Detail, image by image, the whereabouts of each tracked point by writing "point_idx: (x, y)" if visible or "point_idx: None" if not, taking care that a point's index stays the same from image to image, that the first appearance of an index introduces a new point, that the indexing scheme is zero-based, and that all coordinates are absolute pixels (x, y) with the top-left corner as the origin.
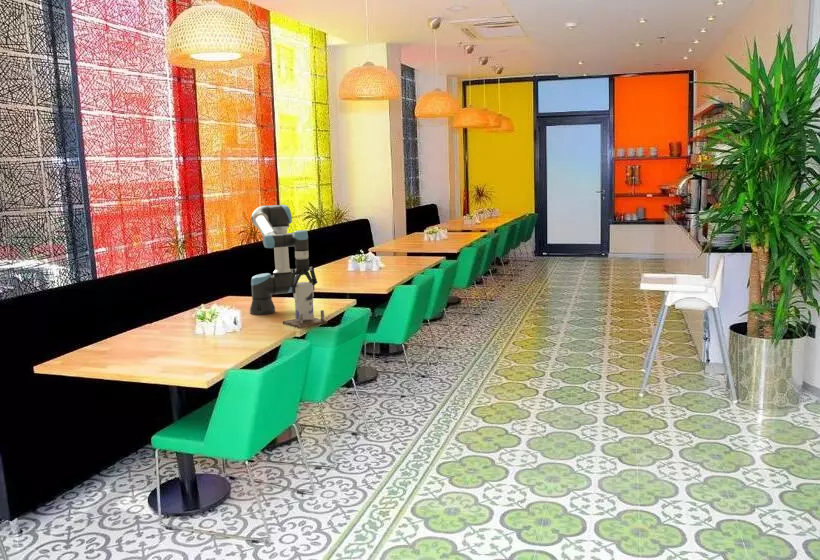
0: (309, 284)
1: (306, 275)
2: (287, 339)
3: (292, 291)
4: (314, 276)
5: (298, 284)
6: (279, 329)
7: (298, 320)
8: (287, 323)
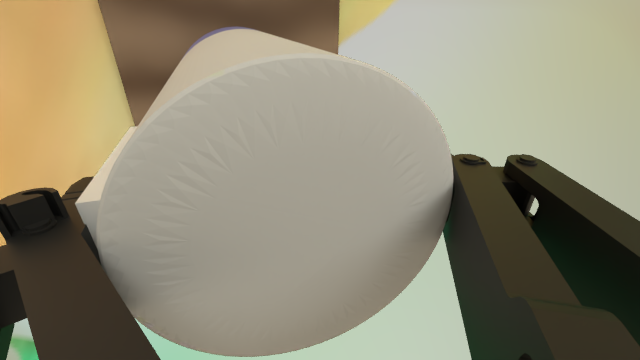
0: (331, 335)
1: (497, 334)
2: (16, 341)
3: (68, 200)
4: (578, 298)
5: (164, 316)
6: (15, 129)
7: None
8: (112, 42)
